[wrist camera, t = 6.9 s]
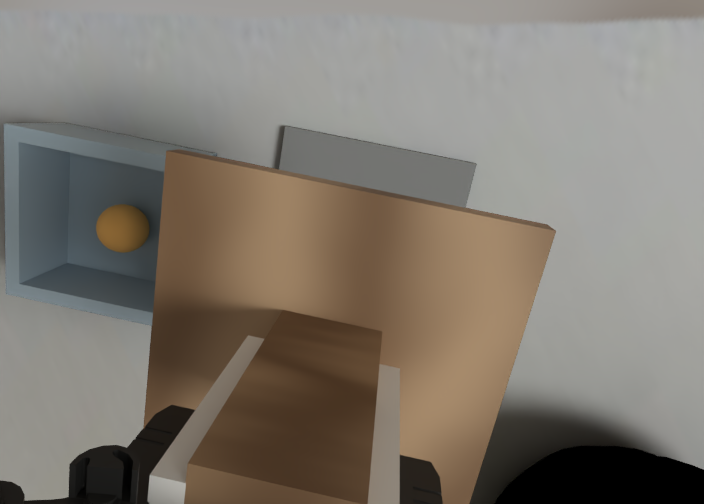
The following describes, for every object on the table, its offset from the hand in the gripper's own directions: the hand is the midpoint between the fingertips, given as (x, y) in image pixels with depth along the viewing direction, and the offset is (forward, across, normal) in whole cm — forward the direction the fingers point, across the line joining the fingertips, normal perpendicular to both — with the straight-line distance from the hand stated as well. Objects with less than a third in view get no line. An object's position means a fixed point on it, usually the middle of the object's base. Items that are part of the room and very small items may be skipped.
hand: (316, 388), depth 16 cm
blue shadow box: (+22, -18, -2) cm, 29 cm away
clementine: (+19, -18, -2) cm, 26 cm away
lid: (+3, 0, 0) cm, 3 cm away
